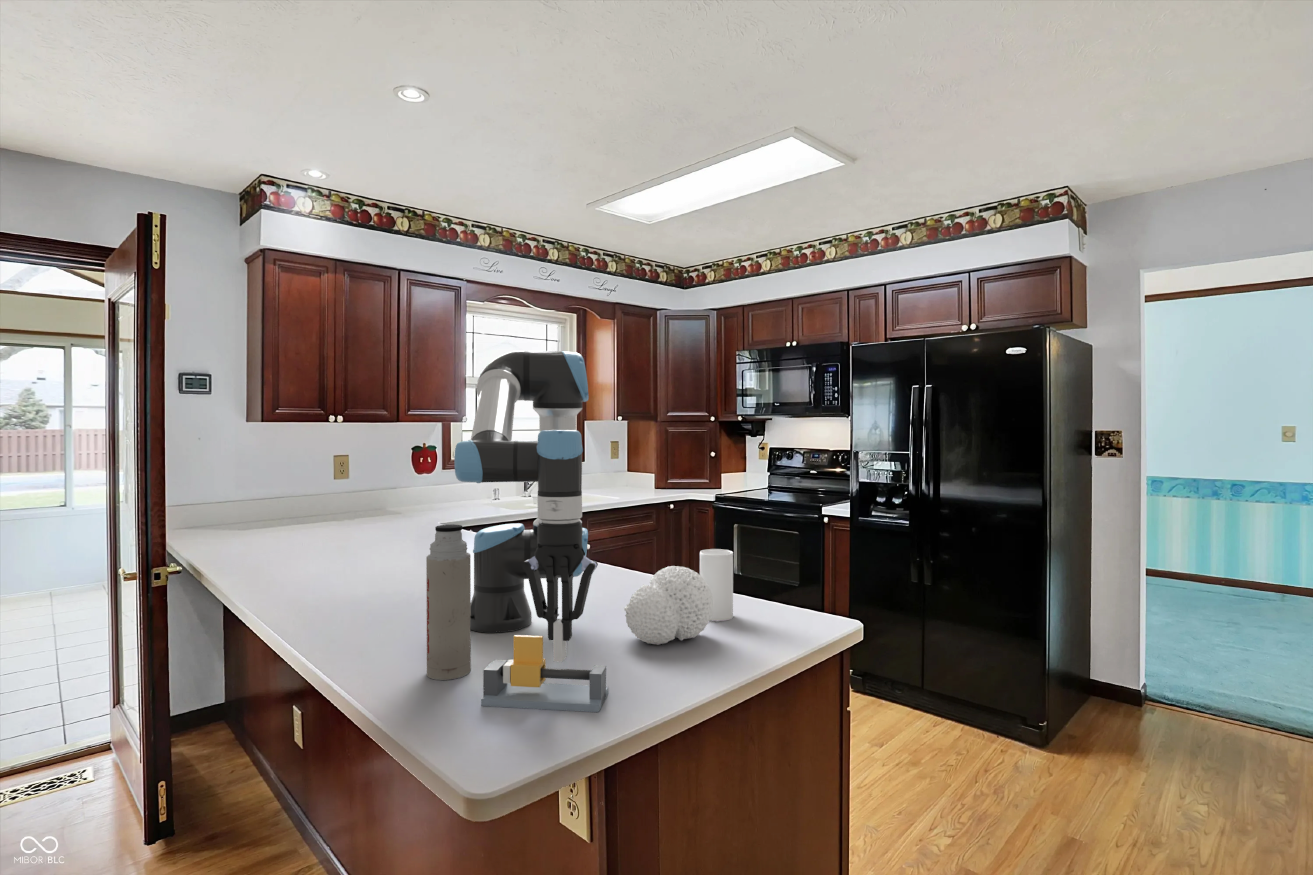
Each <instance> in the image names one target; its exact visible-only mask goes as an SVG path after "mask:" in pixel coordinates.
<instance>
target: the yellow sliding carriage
mask: <svg viewBox="0 0 1313 875" xmlns="http://www.w3.org/2000/svg"><path fill="white" fill-rule="evenodd" d="M513 660H514V662H513V663H512V664H511V686H521V687H540V686H541V685H542V684H543V683H545V681H546V679H547V678H541V669H540V668H547V667H546V666H547V663H546V658H544V636H543V635H527V634H526V635H525V634H514V635H513Z"/></svg>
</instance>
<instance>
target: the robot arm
mask: <svg viewBox="0 0 1313 875" xmlns="http://www.w3.org/2000/svg"><path fill="white" fill-rule="evenodd" d="M476 394H477V396H478V401H477V405H476V406H477V407H476V411H475V416H474V422H473V426H472V430H471V437H470V439H468V440H462V441H459V442H457V443H456V445H455V447H454V448H455V449H454V457H453V458H454V474H455V477H456V479H457V480H458V481H459V482H460V483H461V482H462V483H476V484H481V483H511V482H512V483H514V482H515V483H529V482H530V483H531V482H532V483H535V482H536V483H537V499H536V500H537V517H536V519H535V520H534V521H533V523H532V526H533V528H532V529H526V528H525V525H524V524H523V523H519V522H518V523H505V524H499V525H493V526H489V527H485V528H483V529H480V530H479V531H477V532H476V533H475V534H474V538H473V549H472V553H473V594H472V596H471V597H472V598H471V618H470V631H474V632H478V633H490V634H492V633H494V634H495V633H496V634H497V633H506V632H507V633H508V632H513V631H518V630H521V629H524V628H526V627H528V626H530V625H531V624H532V621H533V620H532V617H533V616H532V609H531V606H530V605H529V602H528V601H529V600H528V598H527V595H526V592H525V580H528V584H529V587H530V591H531V595H532V601H533V605H534V608H535V613H536V616H537V617H538V619H539V618H540V619H541V618H542V619H544V620H546V621H547V638H548V641H553V643H552V644H553V645H552V646H553V647H552V648H553V662H554V663H557V662H558V663H562V662H563V661H565V659H566V658H567V642H569V641H570V640H571V639H572V636H573V621H574V620H578V619H579V618H580V617H581V616H582V615H583V613H584V608H585V605H586V601H587V597H588V593H589V588H590V584H591V580H592V576H593V574H594V572H595V570H596V569H597V568H598V564H599V563H598V562H597V561H596V560H591V559H590V558H589V557H587V551H588V542H589V540H588V538H589V530H588V529H587V528H586V527H583V521H582V520H581V519H582V518H583V491H582V488H583V487H582V486H583V485H582V483H583V482H582V480H583V478H582V477H583V452H584V448H583V442H582V440H583V438H582V434H581V431H579V430H578V429H577V426H576V425H577V416H578V414H579V413H580V412H581V411H582V410H583V402H584V403H587V402H588V401H589V396H590V395H589V383H588V376H587V370H586V365H585V359H584V357H583V356H582V354H580V353H578V352H574V351H567V350H566V351H564V350H562V351H557V350H555V351H553V350H513V351H509V352H506V353H504V354H501V355H499V356H498V357H496V358H494V359H493V360H492V361H490V362H489V363H488V364H487V365H486V366H485V367H484V368H482V370H481V372H480V374H479V376H478V379H477V383H476ZM518 401H525V402H526V401H527V402H529V401H530V402H532V409H533V410H534V412H536V413H537V415H538V417H539V427H538V428H539V432H538V435H537V440H512V437H513V427H514V419H515V418H514V415H515V405H516V404H515V403H517V402H518ZM578 576H581V577H580V582H579V584H578V589H577V595H576V598H575V601H574V599H573V597H574V596H573V591H574V590H573V588H574V587H573V586H574V585H573V584H574V583H573V580H574V578H577V577H578ZM541 579H545V581H546V596H545V593H544V588H543V582H542V580H541ZM559 579H560V582H561V618H558V617H559V616H560V613H559ZM573 601H574V602H575V603H574V602H573ZM573 604H574V605H573ZM573 606H574V607H573Z"/></svg>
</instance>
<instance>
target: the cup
mask: <svg viewBox="0 0 1313 875" xmlns="http://www.w3.org/2000/svg"><path fill="white" fill-rule="evenodd" d="M699 575H700V576H701V577H702V578H703V579H704V580H705V581H706V583H707V585H708V586H709V589H710V590H711V594H712V597H713V611H712V617H711V619H710V621H711V622H712V621H713V622H723V621H724V622H725V621H729V620H732V619H733V618H734V552H733V551H732V550H729V549H721V548H710V549H702V550H700V551H699ZM710 621H709V622H710Z"/></svg>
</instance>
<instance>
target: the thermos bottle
mask: <svg viewBox="0 0 1313 875" xmlns="http://www.w3.org/2000/svg"><path fill="white" fill-rule="evenodd" d="M462 530H463V525H462V524H441V525H437V526H435V534H434V541H432V542H431V543H430V547H429V551H430V554H428V555H426V556H425V557H426V558H425V560H426V563H425V564H426V567H425V568H426V569H425V570H426V573H425V574H426V677H427V678H429V679H432V680H436V681H447V680H455V679H456V680H457V679H460V678H463V677H465V676H467V675H468V674H470V673H471V669H472V668H471V666H472V663H471V661H472V659H471V658H472V657H471V655H472V653H471V652H472V650H471V649H472V647H471V645H472V644H471V643H472V642H471V641H472V639H471V630H470V618H471V600H472V598H471V597H472V596H471V595H472V594H471V593H472V592H471V586H472V584H471V577H472V576H471V572H472V571H471V569H472V568H471V553H469V552H467V551H468V547H467V546H468V543H467V542H466V541H465V540H463V533H462Z"/></svg>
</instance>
